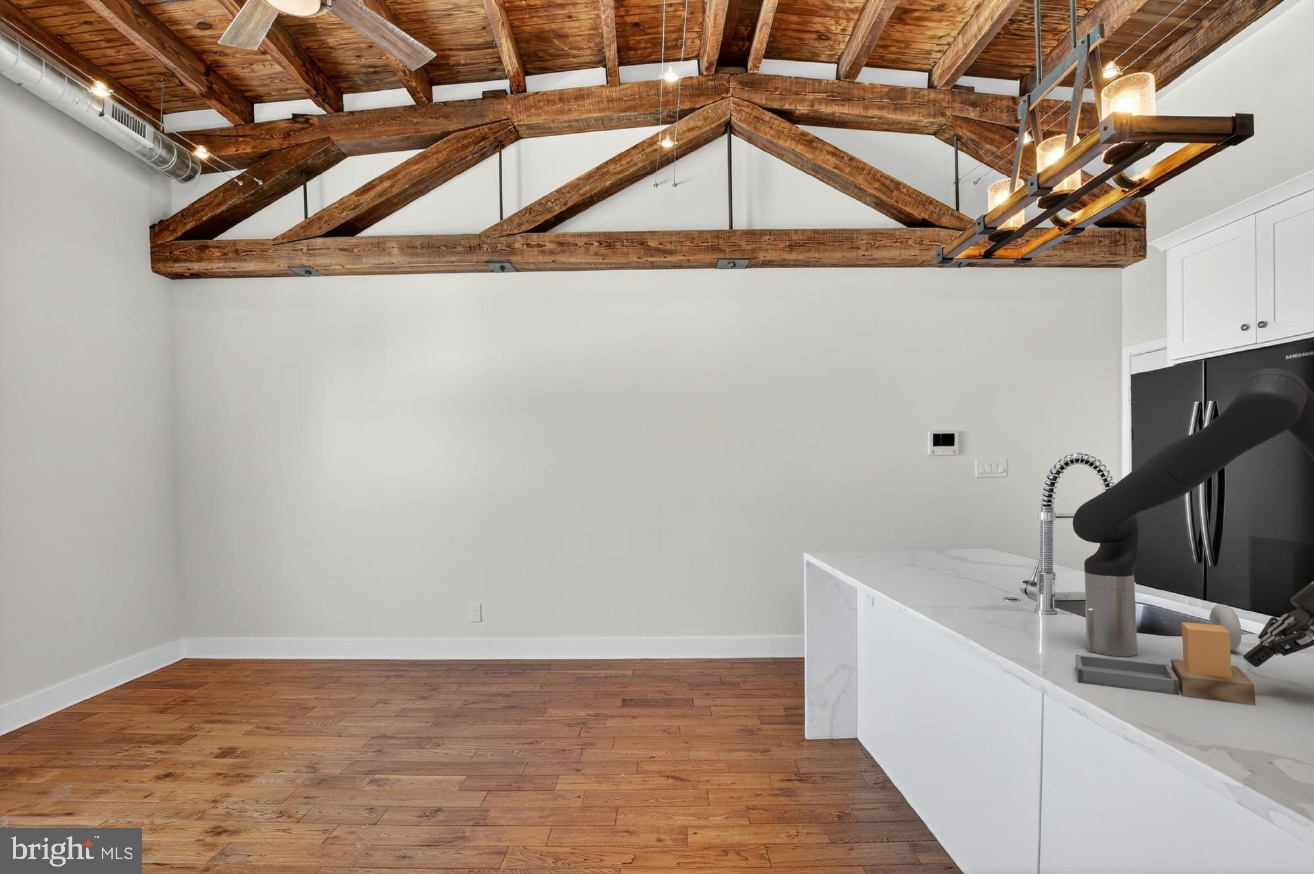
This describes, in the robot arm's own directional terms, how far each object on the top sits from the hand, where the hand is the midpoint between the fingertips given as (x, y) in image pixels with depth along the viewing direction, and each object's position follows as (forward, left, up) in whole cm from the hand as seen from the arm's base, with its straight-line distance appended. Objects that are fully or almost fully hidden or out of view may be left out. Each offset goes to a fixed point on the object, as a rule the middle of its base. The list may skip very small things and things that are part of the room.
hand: (1248, 662), depth 122 cm
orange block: (-6, 0, -2) cm, 7 cm away
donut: (+3, +34, -6) cm, 34 cm away
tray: (-19, 0, -6) cm, 20 cm away
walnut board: (-6, 0, -6) cm, 8 cm away
